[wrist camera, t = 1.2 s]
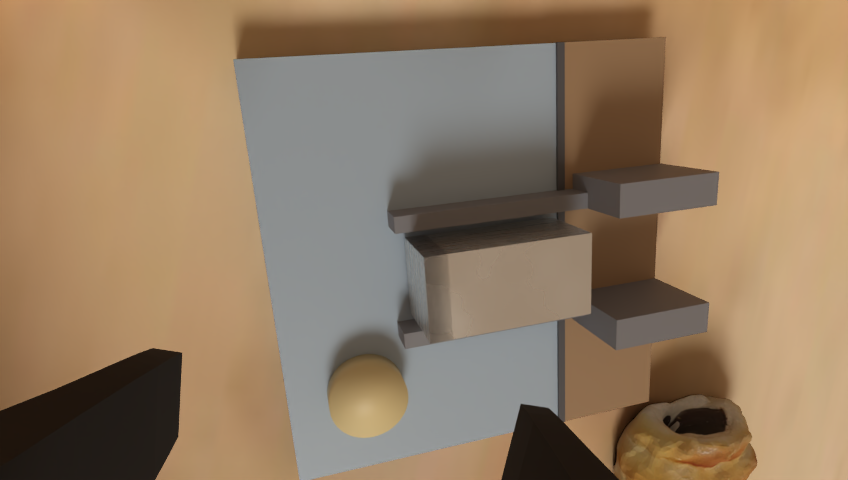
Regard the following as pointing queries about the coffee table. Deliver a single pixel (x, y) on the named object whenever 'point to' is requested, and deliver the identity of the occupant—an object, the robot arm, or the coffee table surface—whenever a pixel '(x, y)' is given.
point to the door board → (455, 210)
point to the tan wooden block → (498, 277)
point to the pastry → (686, 442)
